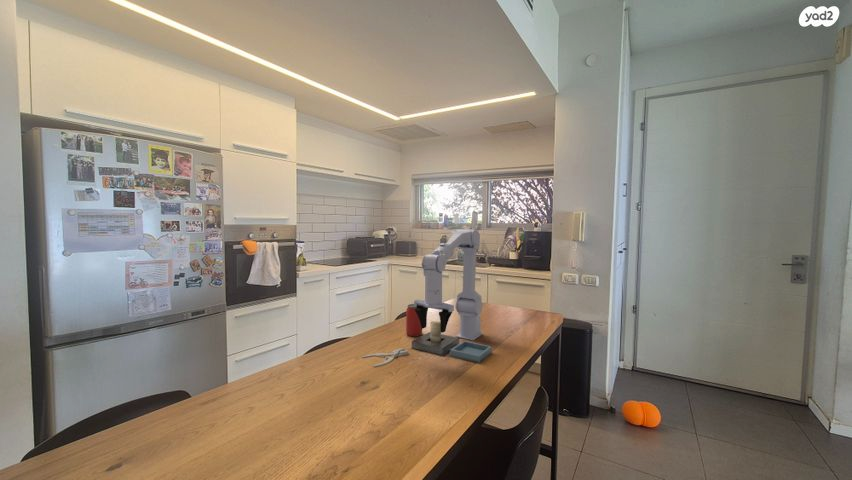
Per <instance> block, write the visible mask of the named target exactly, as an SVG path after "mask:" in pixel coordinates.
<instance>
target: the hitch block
mask: <svg viewBox="0 0 852 480" xmlns="http://www.w3.org/2000/svg"><path fill="white" fill-rule="evenodd" d="M458 344H460V338H459V337H456V336H452V335H447V334H443V333H441V342H439V343H435V342H431V341H430V331H429V332H427V333H425V334H423V335H420V336H418V338H417V337H416V339H414V340H411V349H414V350H418V351H422V352H426V353H430V354H435V355H438V356H443V355H445V354H447V353H448V352H450V349H452V348H453V347H455V346H457V345H458Z"/></svg>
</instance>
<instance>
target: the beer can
mask: <svg viewBox="0 0 852 480" xmlns="http://www.w3.org/2000/svg"><path fill="white" fill-rule="evenodd" d="M415 308H417V306H414V303H411V304H408V305H407V307H406V311H405V314H406V316H405V317H406V318H405V319H406V320H405V321H406V322H405V323H406V324H405V331H406V332H405V334H406V335H407V336H411V337H420V336H422V334H423V329H422V328H421V324H420V320H419V317H418V315H417V313H416V312H415Z"/></svg>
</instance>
